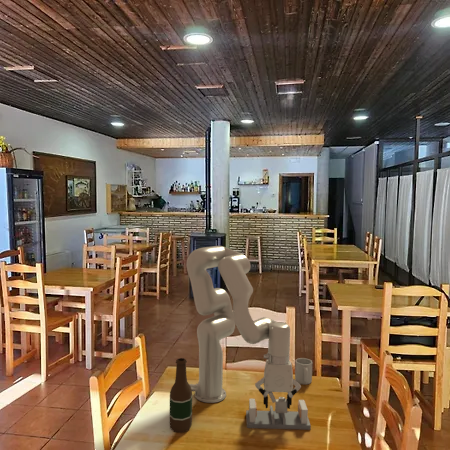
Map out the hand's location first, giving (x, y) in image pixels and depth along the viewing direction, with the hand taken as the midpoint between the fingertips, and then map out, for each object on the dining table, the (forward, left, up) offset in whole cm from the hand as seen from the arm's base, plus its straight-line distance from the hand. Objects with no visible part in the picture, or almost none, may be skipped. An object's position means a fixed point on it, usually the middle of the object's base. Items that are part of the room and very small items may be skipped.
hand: (277, 406), depth 145 cm
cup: (+15, +32, -6) cm, 36 cm away
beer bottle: (-34, -5, -6) cm, 35 cm away
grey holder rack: (0, 0, -6) cm, 6 cm away
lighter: (0, 0, -2) cm, 2 cm away
